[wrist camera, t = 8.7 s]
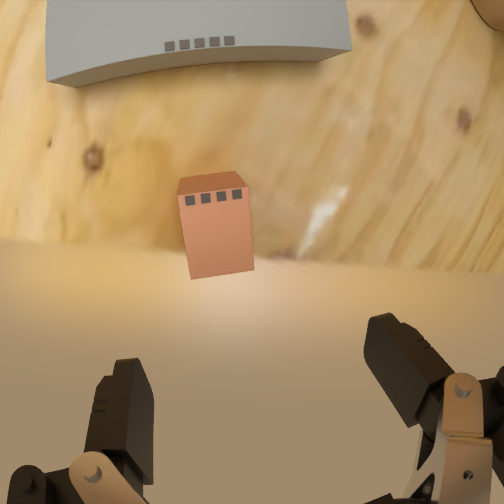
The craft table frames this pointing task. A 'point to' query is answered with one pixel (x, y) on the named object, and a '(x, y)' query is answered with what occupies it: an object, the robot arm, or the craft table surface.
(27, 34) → the craft table surface
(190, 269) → the stub
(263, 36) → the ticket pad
